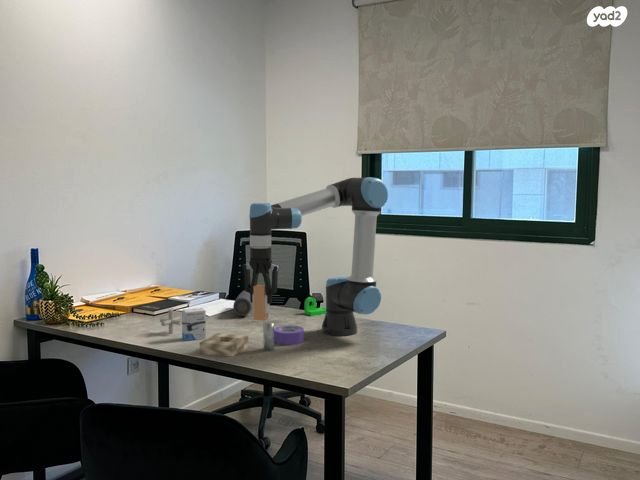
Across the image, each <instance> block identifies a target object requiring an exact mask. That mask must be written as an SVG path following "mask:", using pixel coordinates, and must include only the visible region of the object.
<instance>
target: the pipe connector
mask: <svg viewBox="0 0 640 480" xmlns="http://www.w3.org/2000/svg"><path fill="white" fill-rule="evenodd" d="M159 322H160V325H161V326H162V327H165V326H168V334H169V335H173V334H174V325H178V326H182V320H181V317H180V316H176V317H174V309H173V308H171V309H170V308H169V309H168V318H163V317H160V319H159Z"/></svg>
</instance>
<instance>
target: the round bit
mask: <svg viewBox="0 0 640 480" xmlns="http://www.w3.org/2000/svg"><path fill="white" fill-rule="evenodd" d="M262 329H263V333H262V334H263V351H265V352H266V351H267V352H271V351H274V350H275V342H274V329H275V322H273V321H265V322H263V326H262Z"/></svg>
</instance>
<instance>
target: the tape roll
mask: <svg viewBox="0 0 640 480" xmlns="http://www.w3.org/2000/svg"><path fill="white" fill-rule="evenodd" d="M304 329H305V328H303V327H302V326H299V325H293V324H292V325H291V324H290V325H288V324H287V325H286V324H285V325H280V326H279V325H278V326H276V327H274V344H278V345H281V346H282V345H284V346H293V345H299V344H302V343H304V341H305V339H304V332H305V331H304Z"/></svg>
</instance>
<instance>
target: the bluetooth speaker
mask: <svg viewBox="0 0 640 480" xmlns="http://www.w3.org/2000/svg"><path fill="white" fill-rule="evenodd" d="M232 308H233V310H234V311H233V312H234V313H236V315H238V316H247V315H249V313H250V312H252V311H253V303H251V302H250V293H249V292H246V291H245V289H244V290H242V292H240V293H239V294H238V296H237V297H236V298H235V300H234V302H233V306H232Z"/></svg>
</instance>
